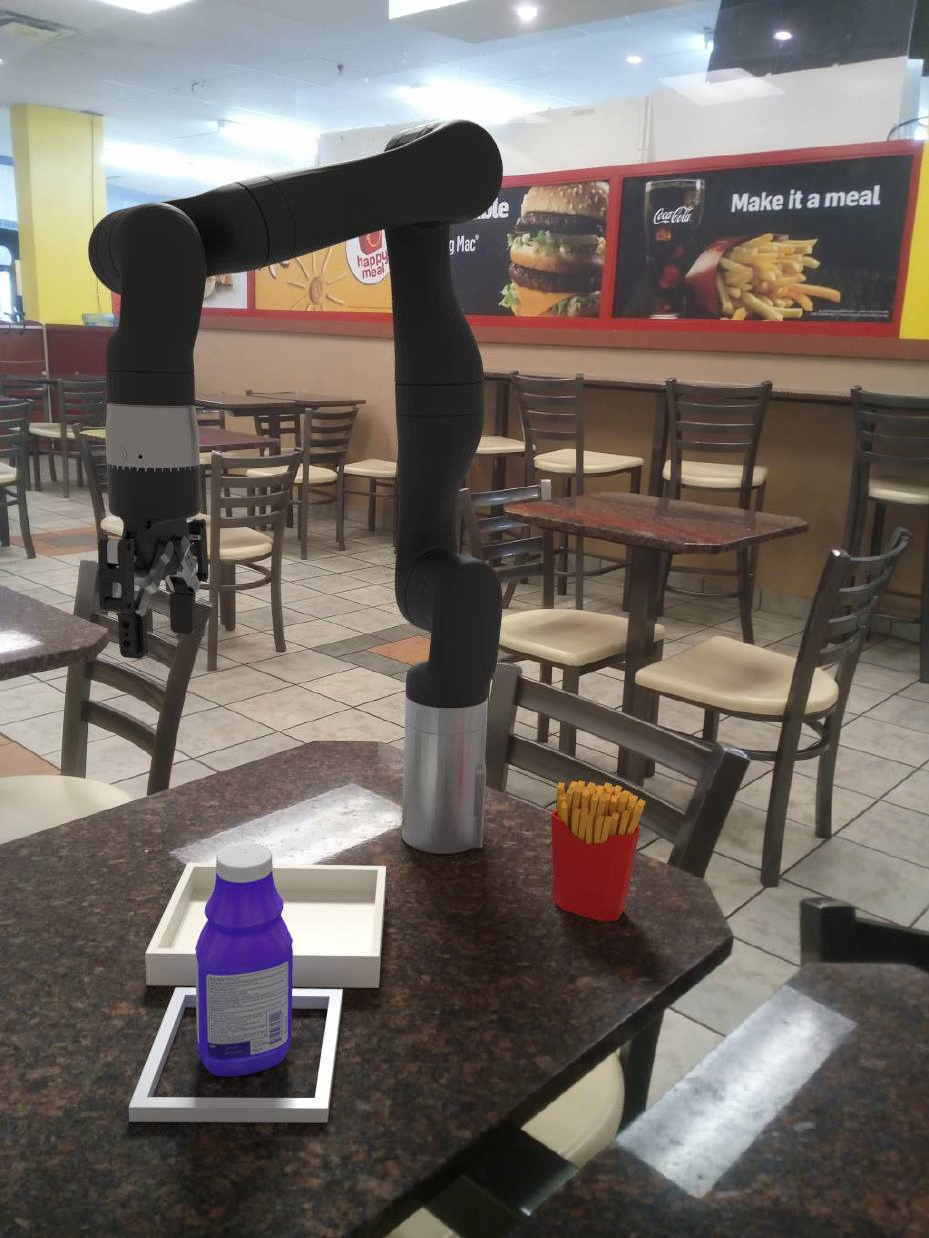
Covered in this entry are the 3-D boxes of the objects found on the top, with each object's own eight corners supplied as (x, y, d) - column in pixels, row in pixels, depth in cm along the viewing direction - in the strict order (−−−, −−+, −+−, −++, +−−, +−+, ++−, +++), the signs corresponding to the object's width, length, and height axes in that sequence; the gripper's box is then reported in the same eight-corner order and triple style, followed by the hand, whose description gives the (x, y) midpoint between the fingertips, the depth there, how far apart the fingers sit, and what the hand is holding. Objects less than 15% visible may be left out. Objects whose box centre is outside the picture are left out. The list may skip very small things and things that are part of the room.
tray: (385, 893, 103) (386, 866, 102) (378, 987, 87) (379, 956, 86) (188, 890, 102) (187, 862, 101) (146, 984, 86) (145, 953, 85)
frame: (342, 1001, 85) (342, 989, 85) (327, 1122, 72) (327, 1108, 71) (176, 999, 84) (175, 987, 84) (129, 1121, 71) (128, 1107, 71)
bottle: (284, 1024, 82) (283, 830, 78) (299, 1069, 77) (299, 864, 72) (193, 1042, 79) (187, 842, 75) (202, 1090, 74) (196, 879, 70)
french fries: (541, 903, 102) (549, 786, 99) (557, 885, 106) (565, 771, 102) (627, 929, 98) (638, 807, 95) (640, 909, 102) (652, 791, 98)
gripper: (150, 469, 77) (157, 671, 81) (232, 455, 90) (234, 629, 94) (63, 463, 78) (74, 662, 82) (156, 450, 92) (162, 621, 96)
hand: (160, 644), depth 88 cm, fingers open, 8 cm apart
